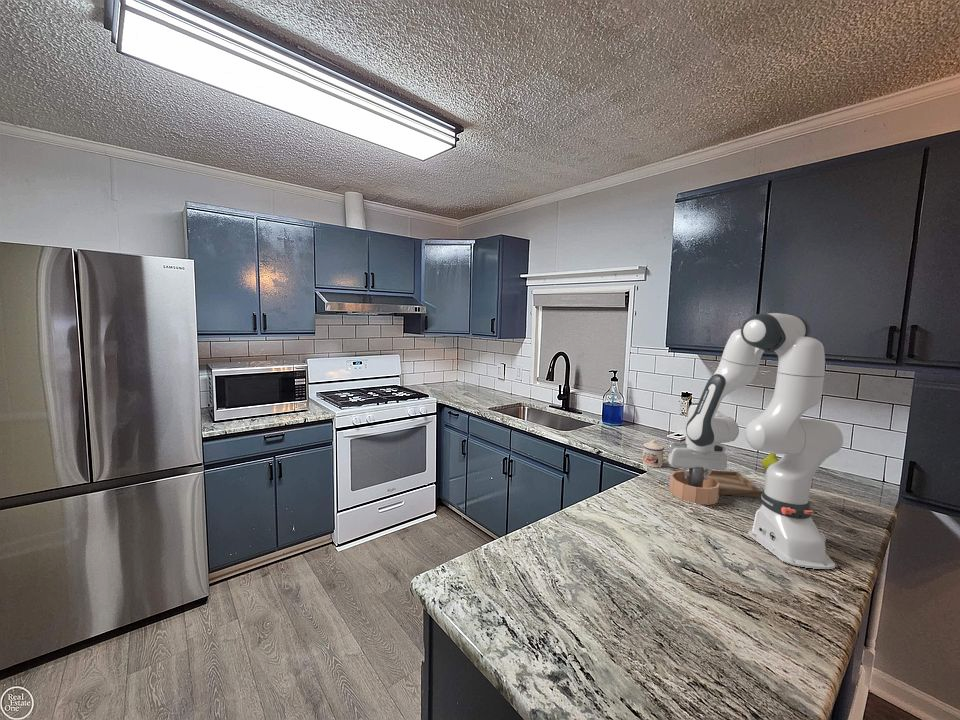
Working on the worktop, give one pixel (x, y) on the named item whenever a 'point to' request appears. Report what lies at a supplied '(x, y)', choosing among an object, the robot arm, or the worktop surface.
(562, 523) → the worktop surface
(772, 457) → the fruit
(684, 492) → the terracotta bowl
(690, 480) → the black canister
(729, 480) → the walnut tray
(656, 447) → the teacup with lid
